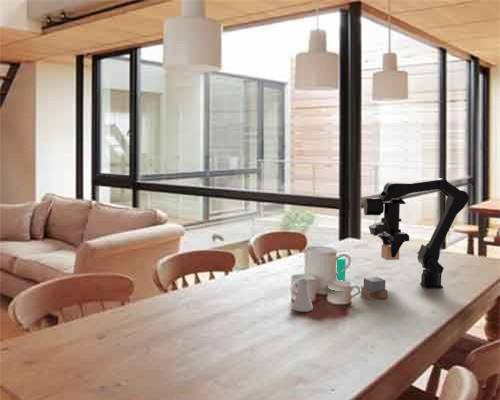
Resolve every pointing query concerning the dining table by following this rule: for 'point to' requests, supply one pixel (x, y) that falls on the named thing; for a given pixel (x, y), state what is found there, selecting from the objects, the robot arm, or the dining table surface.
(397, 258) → the terracotta cube
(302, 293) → the flask
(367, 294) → the tower base
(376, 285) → the tower middle
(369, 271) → the dining table surface
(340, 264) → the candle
